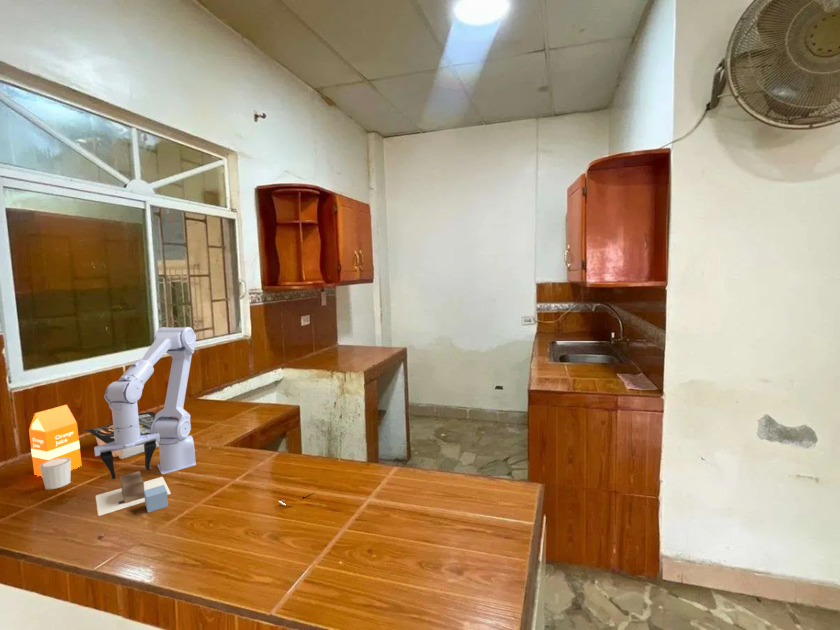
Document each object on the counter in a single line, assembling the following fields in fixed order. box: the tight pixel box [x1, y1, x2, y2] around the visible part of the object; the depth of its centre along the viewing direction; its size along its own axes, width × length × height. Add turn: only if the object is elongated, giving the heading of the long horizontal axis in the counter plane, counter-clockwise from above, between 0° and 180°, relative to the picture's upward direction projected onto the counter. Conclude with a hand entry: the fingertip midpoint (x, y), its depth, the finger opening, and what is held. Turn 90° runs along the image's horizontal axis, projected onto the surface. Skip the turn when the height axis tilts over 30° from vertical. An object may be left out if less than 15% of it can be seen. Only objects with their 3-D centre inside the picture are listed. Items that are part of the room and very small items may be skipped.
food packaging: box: [83, 411, 178, 460], centre depth 151 cm, size 25×8×23 cm
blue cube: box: [144, 485, 169, 514], centre depth 110 cm, size 4×4×4 cm
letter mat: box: [95, 476, 172, 517], centre depth 116 cm, size 16×13×1 cm
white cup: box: [40, 457, 72, 491], centre depth 123 cm, size 7×7×7 cm
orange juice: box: [28, 404, 83, 478], centre depth 131 cm, size 8×9×20 cm
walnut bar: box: [119, 470, 145, 503], centre depth 116 cm, size 4×8×4 cm, turn 40°
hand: (130, 473), depth 116 cm, fingers open, 7 cm apart
